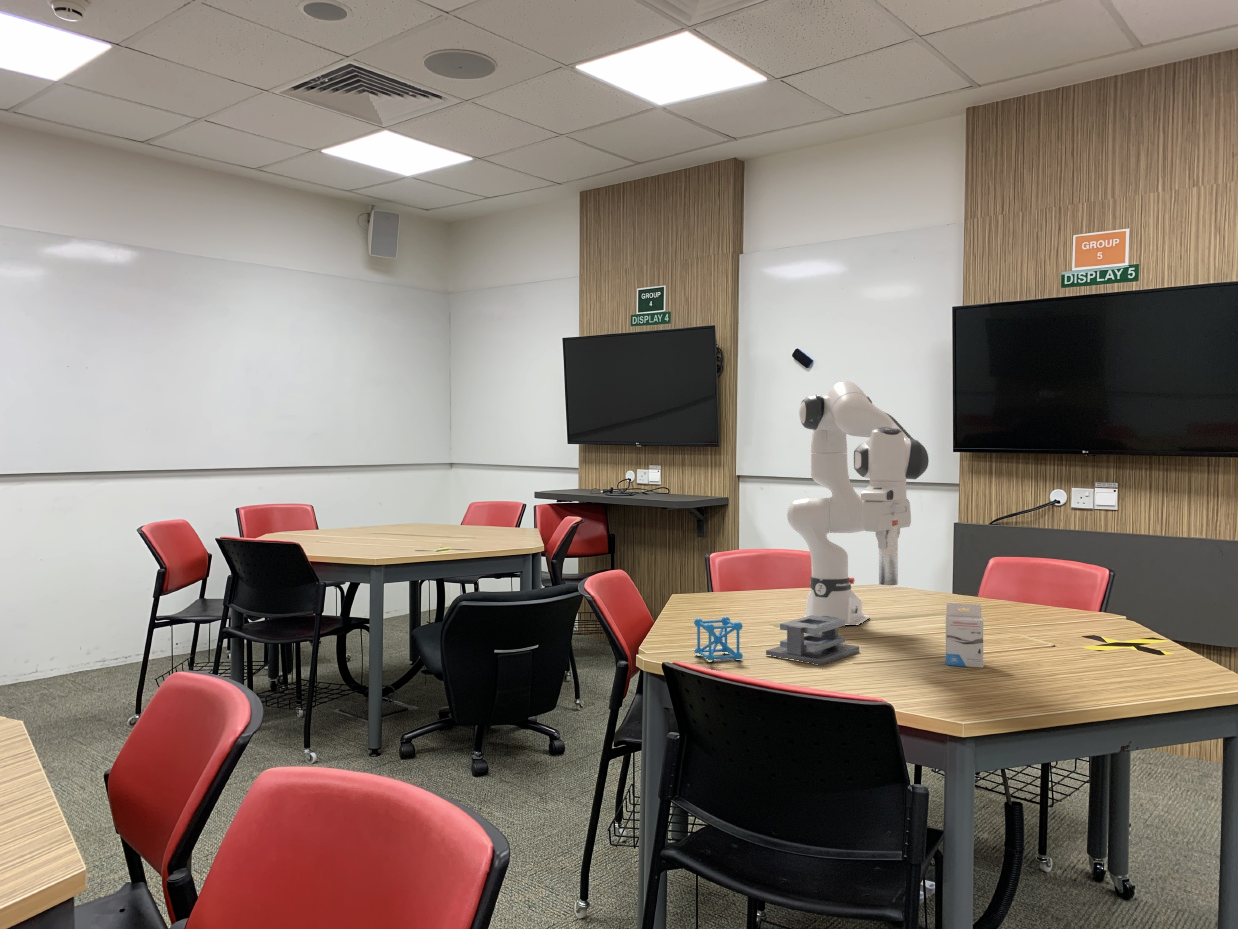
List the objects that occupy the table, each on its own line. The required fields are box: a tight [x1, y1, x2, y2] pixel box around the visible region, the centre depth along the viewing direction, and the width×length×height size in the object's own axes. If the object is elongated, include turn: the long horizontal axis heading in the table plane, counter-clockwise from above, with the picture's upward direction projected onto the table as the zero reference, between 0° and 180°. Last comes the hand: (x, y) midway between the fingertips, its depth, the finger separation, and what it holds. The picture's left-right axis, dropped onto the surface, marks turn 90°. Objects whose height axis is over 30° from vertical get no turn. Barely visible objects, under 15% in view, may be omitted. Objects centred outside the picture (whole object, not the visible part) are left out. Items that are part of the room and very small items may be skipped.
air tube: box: [878, 512, 899, 586], centre depth 214 cm, size 5×5×18 cm
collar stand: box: [765, 615, 860, 666], centre depth 224 cm, size 20×16×8 cm
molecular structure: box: [693, 616, 744, 661], centre depth 221 cm, size 10×10×10 cm
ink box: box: [945, 602, 984, 669], centre depth 212 cm, size 9×5×15 cm, turn 71°
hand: (888, 547), depth 215 cm, fingers closed on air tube, 4 cm apart
